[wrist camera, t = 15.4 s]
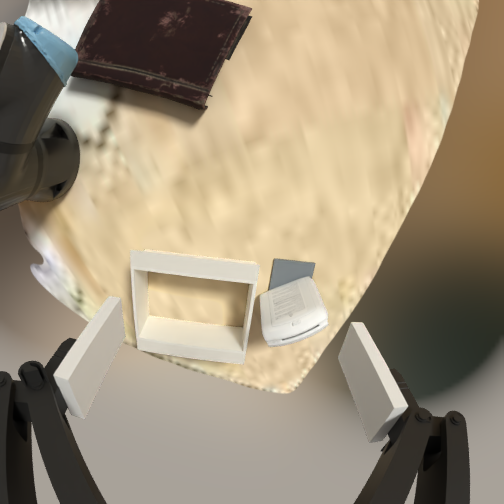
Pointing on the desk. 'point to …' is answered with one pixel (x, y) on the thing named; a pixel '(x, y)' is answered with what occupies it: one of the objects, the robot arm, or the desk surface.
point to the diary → (161, 45)
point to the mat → (289, 271)
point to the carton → (187, 332)
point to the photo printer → (292, 312)
